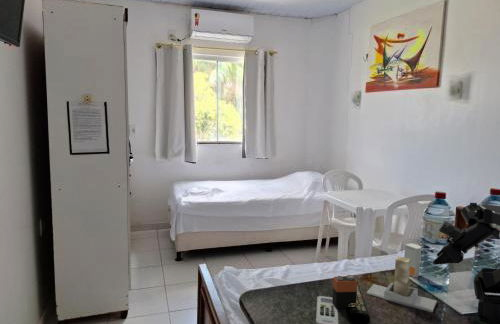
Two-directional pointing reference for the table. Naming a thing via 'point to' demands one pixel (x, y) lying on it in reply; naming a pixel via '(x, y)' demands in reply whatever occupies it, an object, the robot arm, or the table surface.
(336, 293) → the battery
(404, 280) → the ash hinge pin
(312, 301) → the table surface
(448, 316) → the table surface
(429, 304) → the grey base plate
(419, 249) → the skincare box
